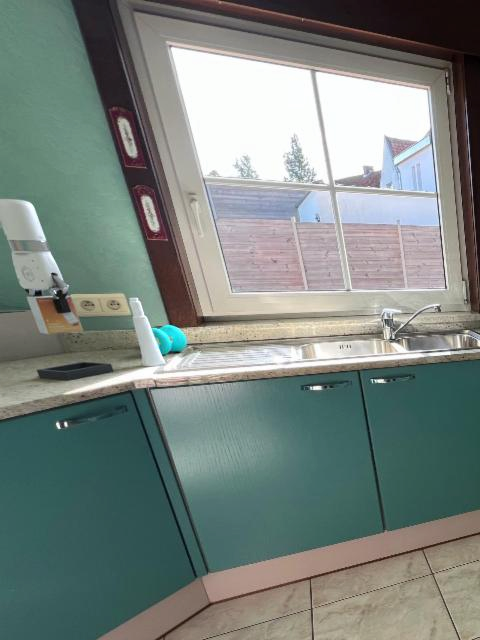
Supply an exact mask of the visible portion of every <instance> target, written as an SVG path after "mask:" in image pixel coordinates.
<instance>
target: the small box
mask: <svg viewBox="0 0 480 640" xmlns="http://www.w3.org/2000/svg"><path fill="white" fill-rule="evenodd" d="M67 297H68V298H67V301H68V304H69V307H70V310H71V312H70V313H57V311H56V308H55V305H54V303H53V300H52V299H54V298H53V296H52V295H44V296H41V297H30V296H26V301H27V303H28V305H29V308H30V311H31V313H32V315H33V318H34V321H35V324H36V326H37V329H38V331H39V334H44V335H55V334H69V333H71V334H72V333H82V332H84V329H83V327H82V324H81V321H80V318H79V314H78V312H77V309H76V307H75V306H76V305H75V304H74V301H73V298H72V296H70V295H67Z"/></svg>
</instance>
